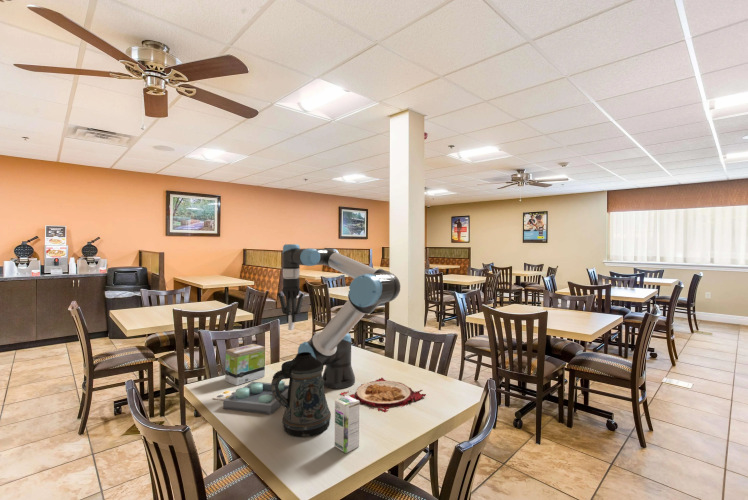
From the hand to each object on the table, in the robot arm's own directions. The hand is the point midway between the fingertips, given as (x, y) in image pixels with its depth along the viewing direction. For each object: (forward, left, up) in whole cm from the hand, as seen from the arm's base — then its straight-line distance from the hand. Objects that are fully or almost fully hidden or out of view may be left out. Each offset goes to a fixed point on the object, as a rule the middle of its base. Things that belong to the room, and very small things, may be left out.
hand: (291, 329), depth 164 cm
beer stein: (-23, +37, -25) cm, 50 cm away
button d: (+8, +26, -21) cm, 34 cm away
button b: (-2, +26, -23) cm, 35 cm away
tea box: (+23, +1, -25) cm, 34 cm away
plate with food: (-44, +5, -25) cm, 51 cm away
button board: (+3, +21, -24) cm, 32 cm away
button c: (+8, +16, -23) cm, 29 cm away
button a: (-2, +16, -21) cm, 27 cm away
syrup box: (-41, +45, -25) cm, 66 cm away
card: (+19, +20, -24) cm, 37 cm away
